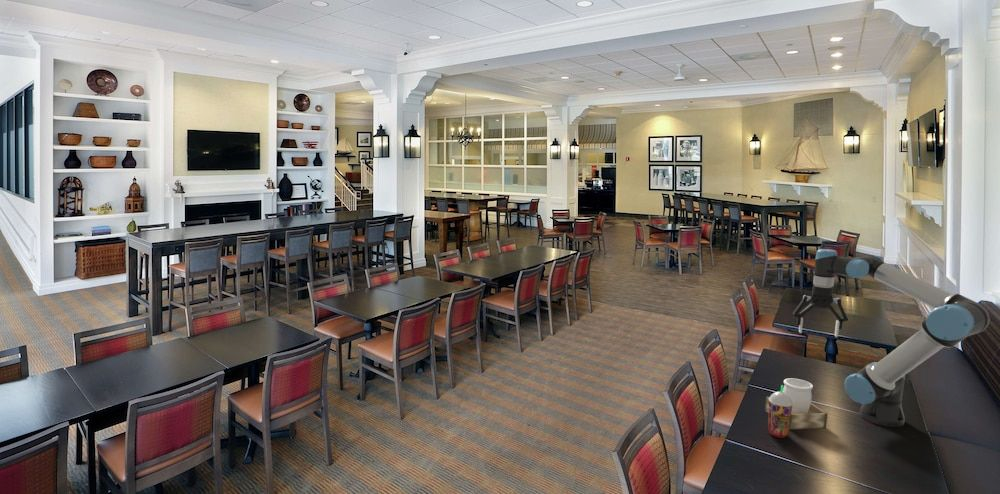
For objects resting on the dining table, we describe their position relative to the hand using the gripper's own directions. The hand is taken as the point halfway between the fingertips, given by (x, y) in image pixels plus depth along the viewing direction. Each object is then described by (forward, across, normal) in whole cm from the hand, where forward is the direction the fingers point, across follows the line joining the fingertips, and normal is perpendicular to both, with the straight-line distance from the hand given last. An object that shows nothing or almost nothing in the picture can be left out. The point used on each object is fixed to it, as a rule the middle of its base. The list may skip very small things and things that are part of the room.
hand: (818, 334), depth 232 cm
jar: (+31, +9, +18) cm, 37 cm away
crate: (+32, +9, +18) cm, 38 cm away
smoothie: (+32, +17, +35) cm, 51 cm away
